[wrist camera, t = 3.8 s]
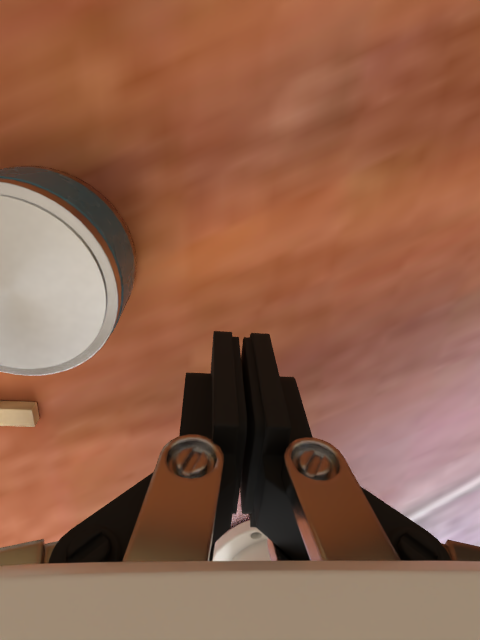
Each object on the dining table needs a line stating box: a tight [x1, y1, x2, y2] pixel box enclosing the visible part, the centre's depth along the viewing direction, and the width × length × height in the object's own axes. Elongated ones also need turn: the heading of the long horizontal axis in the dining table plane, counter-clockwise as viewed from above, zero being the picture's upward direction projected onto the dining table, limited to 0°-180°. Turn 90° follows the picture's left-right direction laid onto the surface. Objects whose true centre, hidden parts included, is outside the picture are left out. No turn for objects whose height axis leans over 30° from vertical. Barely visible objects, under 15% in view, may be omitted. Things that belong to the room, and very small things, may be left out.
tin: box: [0, 166, 136, 376], centre depth 19 cm, size 9×9×5 cm
